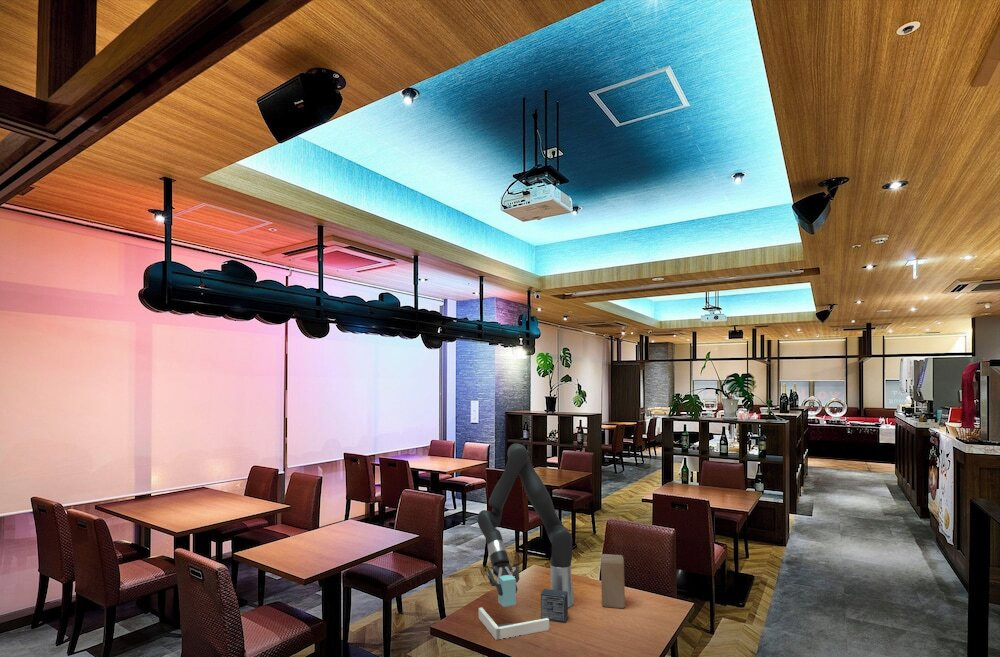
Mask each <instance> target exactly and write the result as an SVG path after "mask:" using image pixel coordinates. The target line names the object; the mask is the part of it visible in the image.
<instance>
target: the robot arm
mask: <svg viewBox="0 0 1000 657" xmlns="http://www.w3.org/2000/svg"><path fill="white" fill-rule="evenodd" d="M506 453H507V454H506V455H507V462H506V463H505V464H506V465H505V468H504V470H503V472H502V475H501V476H500V478H499V480H498V481H497V482H496V484H495V486H494V488H493V490H492V492H491V495H490V497H489V499H488V505H489V506H490V507H492V509H491V510H487V509H486V510H484V509H483V510H481V511H479V513H478V515H477V519H476V520H477V525H478V527H479V529H480V531H481V533H482V534H483V536H484V538H485V541H486V544H487V546H486V547H487V552H488V556H489V560H490V564H491V567H492V569H488V570H487V572H486V576H487V579H488V581H489V583H490V585H491V586H492V587H496V591H497V595H498V594H499V595H500V596H502V595H503V592H502V588H501V585H500V580H499V577H501V576H503V575H512V576H513V577H514V578H515V579H516V594H517V592H518V590H519V589H518V586H517V583H519V581H520V571H519V566H518V565H516V566H512V565H511V564H510V559H509V555H508V553H507V552H508V551H507V549H506V546H505V543H504V540H503V536H502V534H501V531H500V530H499V529H497V528H498V527H499V525H500V523H501V521H502V515H503V510H504V509H503V508H504V505H505V503H506V501H507V499H508V496H509V495H510V492H511V490H512V487H513V485H514V483H515V481H516V479H517V477H518V476H519V478H520V480H521V484H522V487H523V489H524V492H525V494H526V496H527V498H528V500H529V502H530V504H531V506H532V507H533V509H534V511H535V513H536V514H537V515H538V517H539V518H540V520H541V522H542V524H543V526H544V528H545V531H546V534H547V537H548V539H549V542H550V543H551V557H550V562H549V563H550V590H558V591H567V592H568V608H570V607H571V606H574V582H573V581H572V559H573V538H572V535H571V533H570V532H569V530H568V529H567V528H566V527H565V526H564V524H563V523H562V522H561V520H560V518H559V517H558V515H557V512H556V509H555V506H554V504H553V500H552V498H551V496H550V494H549V491H548V489H547V487H546V486H545V484H544V482H543V480H542V479H541V477H540V476H539V474H538V473H537V472H536V470H535V469H534V467H533V465H532V462H531V460H530V458H529V452H528V450H527V449H526V447H525V446H524V445H523V444H521V443H512V444H511V445H510V446H509V447H508V449H507V452H506ZM494 576H496V579H495V577H494Z"/></svg>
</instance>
